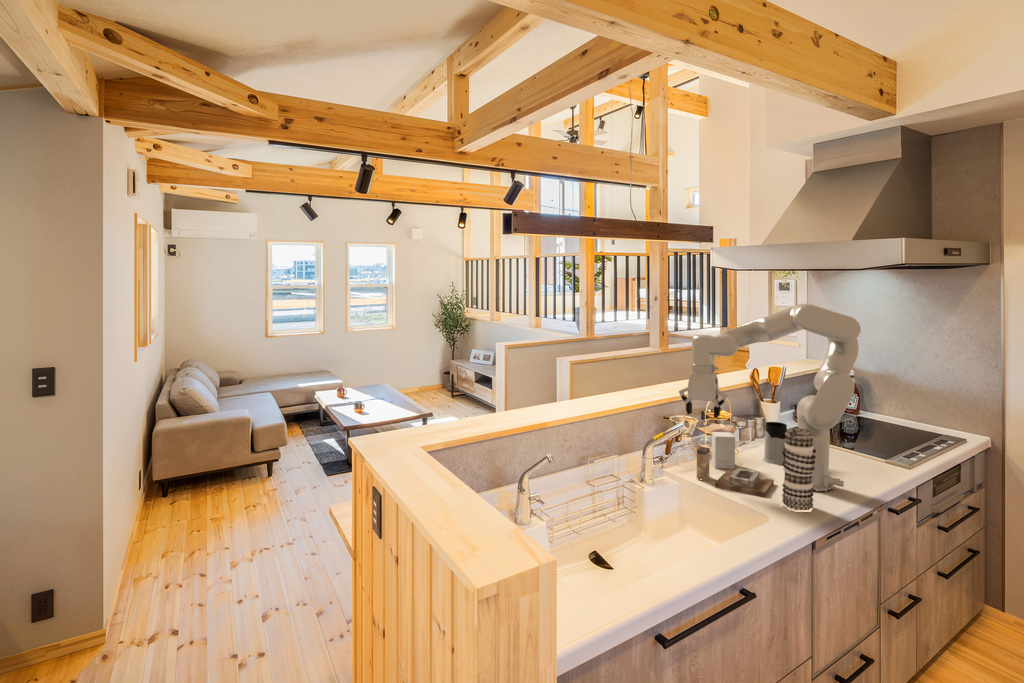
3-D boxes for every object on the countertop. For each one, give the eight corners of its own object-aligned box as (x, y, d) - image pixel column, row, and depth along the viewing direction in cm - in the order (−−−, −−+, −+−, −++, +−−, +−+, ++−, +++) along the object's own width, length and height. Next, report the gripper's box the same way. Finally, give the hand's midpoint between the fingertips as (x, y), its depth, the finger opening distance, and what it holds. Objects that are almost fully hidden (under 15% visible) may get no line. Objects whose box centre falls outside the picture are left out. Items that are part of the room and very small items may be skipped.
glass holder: (762, 456, 208) (762, 420, 207) (801, 459, 203) (802, 423, 202) (764, 463, 200) (765, 426, 199) (805, 466, 195) (806, 428, 194)
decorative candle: (792, 499, 165) (794, 424, 163) (820, 509, 157) (823, 430, 155) (774, 505, 161) (776, 428, 159) (802, 516, 153) (805, 435, 150)
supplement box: (735, 469, 194) (735, 437, 193) (714, 468, 196) (715, 436, 195) (730, 462, 201) (731, 431, 200) (711, 462, 203) (711, 431, 202)
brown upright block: (709, 477, 187) (709, 448, 186) (705, 481, 183) (705, 451, 182) (701, 475, 189) (701, 446, 188) (696, 479, 185) (696, 450, 184)
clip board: (773, 484, 178) (773, 473, 178) (764, 497, 167) (764, 485, 167) (726, 475, 188) (726, 464, 188) (714, 486, 177) (715, 475, 177)
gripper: (731, 369, 180) (730, 416, 182) (683, 366, 191) (683, 410, 193) (724, 372, 174) (724, 420, 176) (675, 368, 185) (675, 414, 187)
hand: (702, 415), depth 184 cm, fingers open, 9 cm apart
